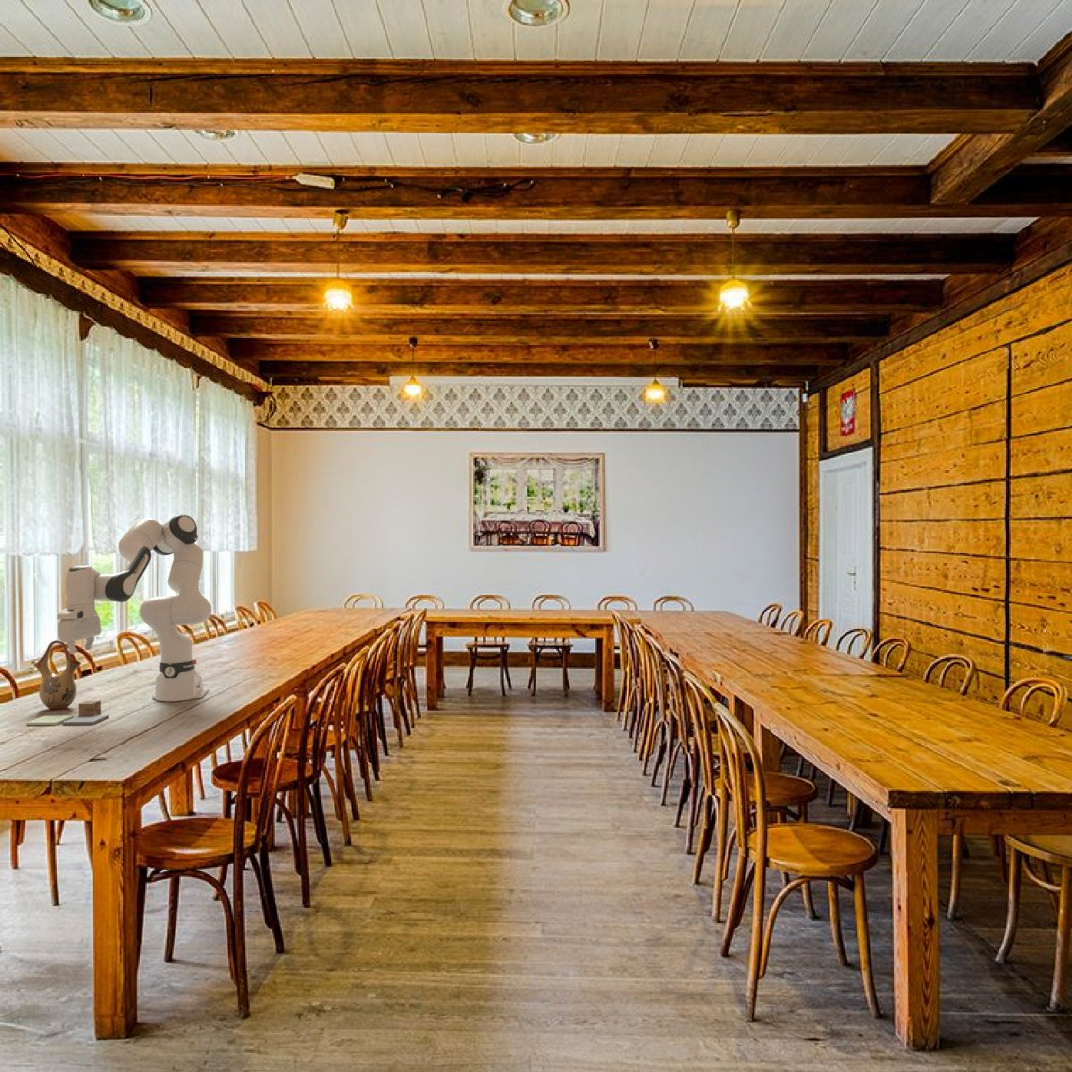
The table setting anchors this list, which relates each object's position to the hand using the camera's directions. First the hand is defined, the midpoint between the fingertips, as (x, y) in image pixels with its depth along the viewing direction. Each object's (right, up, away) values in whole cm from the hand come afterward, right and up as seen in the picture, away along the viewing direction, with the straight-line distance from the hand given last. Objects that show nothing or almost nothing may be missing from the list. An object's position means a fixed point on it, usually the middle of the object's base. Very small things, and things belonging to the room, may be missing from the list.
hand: (81, 651), depth 280 cm
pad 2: (+6, -22, -8) cm, 25 cm away
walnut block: (+3, -22, 0) cm, 23 cm away
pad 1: (-6, -23, -9) cm, 25 cm away
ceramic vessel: (-15, -23, +11) cm, 29 cm away
